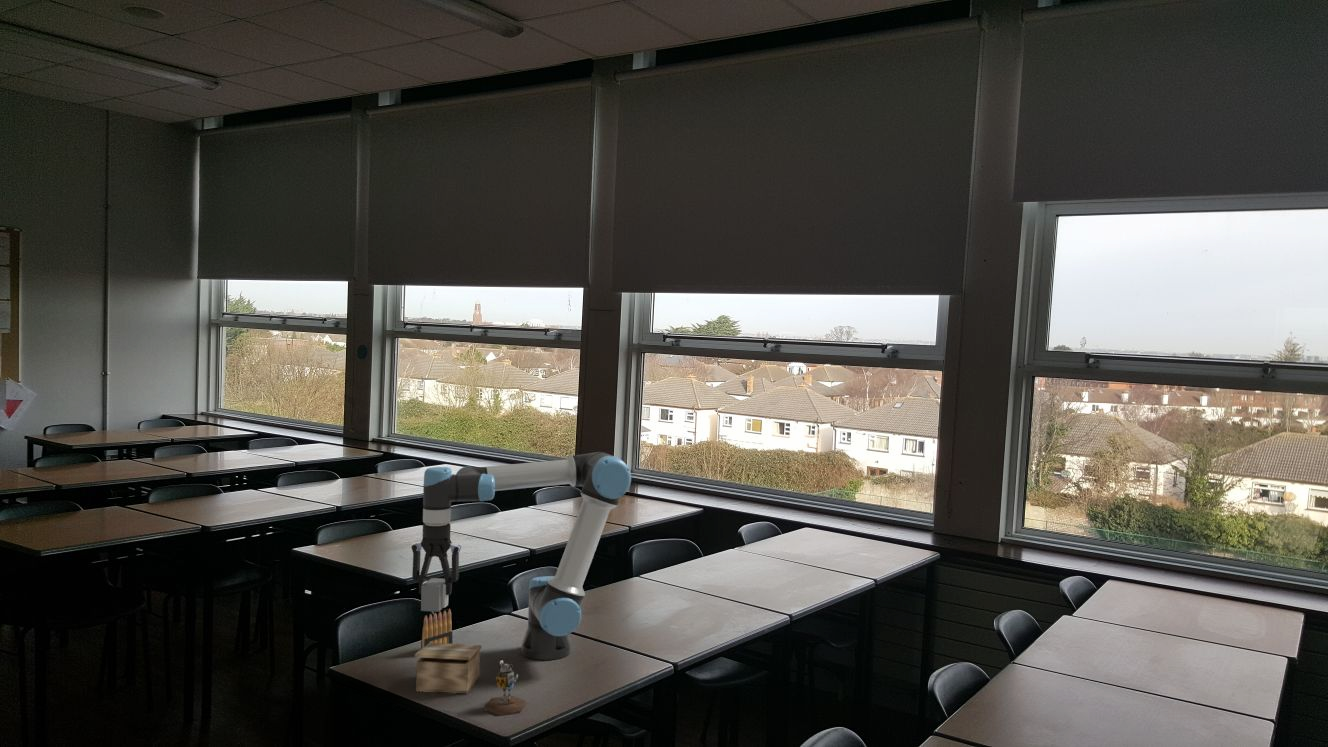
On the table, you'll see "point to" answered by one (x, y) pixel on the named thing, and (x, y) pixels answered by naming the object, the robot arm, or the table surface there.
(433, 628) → the ammunition clip
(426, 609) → the grey taped box
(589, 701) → the table surface
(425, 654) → the lid
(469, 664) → the crate
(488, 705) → the robot figurine
